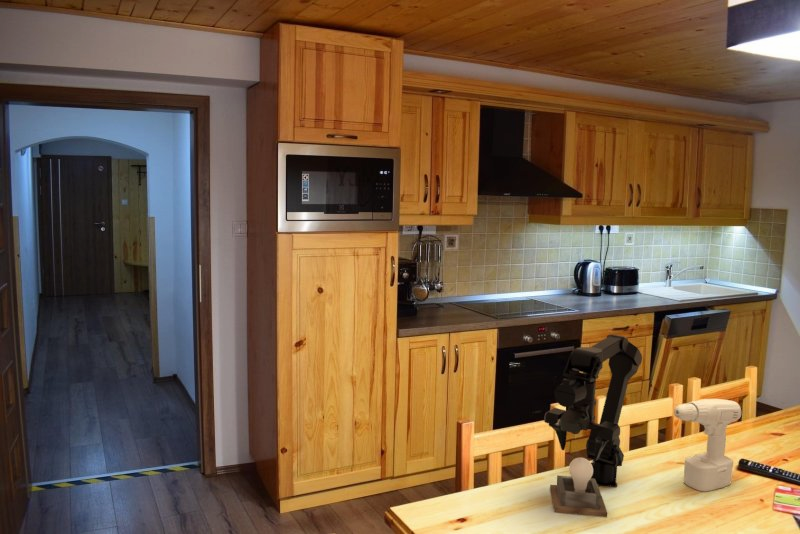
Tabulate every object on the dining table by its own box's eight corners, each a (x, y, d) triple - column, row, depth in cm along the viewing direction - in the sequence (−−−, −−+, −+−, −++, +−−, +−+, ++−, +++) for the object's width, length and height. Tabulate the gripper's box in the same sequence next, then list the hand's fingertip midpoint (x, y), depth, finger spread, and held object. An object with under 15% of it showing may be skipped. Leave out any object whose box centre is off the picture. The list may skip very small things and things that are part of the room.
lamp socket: (598, 492, 175) (599, 476, 175) (607, 517, 163) (608, 499, 162) (550, 488, 177) (551, 472, 176) (554, 512, 164) (555, 494, 164)
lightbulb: (592, 505, 166) (594, 465, 164) (567, 502, 167) (569, 462, 166) (591, 493, 172) (593, 455, 170) (567, 491, 173) (569, 452, 172)
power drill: (657, 486, 180) (664, 400, 177) (715, 471, 191) (723, 390, 188) (682, 500, 173) (690, 410, 169) (742, 483, 183) (750, 399, 180)
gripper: (535, 396, 167) (532, 453, 169) (605, 414, 155) (601, 476, 157) (555, 386, 175) (552, 441, 177) (623, 403, 163) (618, 461, 165)
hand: (579, 454), depth 169 cm, fingers open, 9 cm apart
